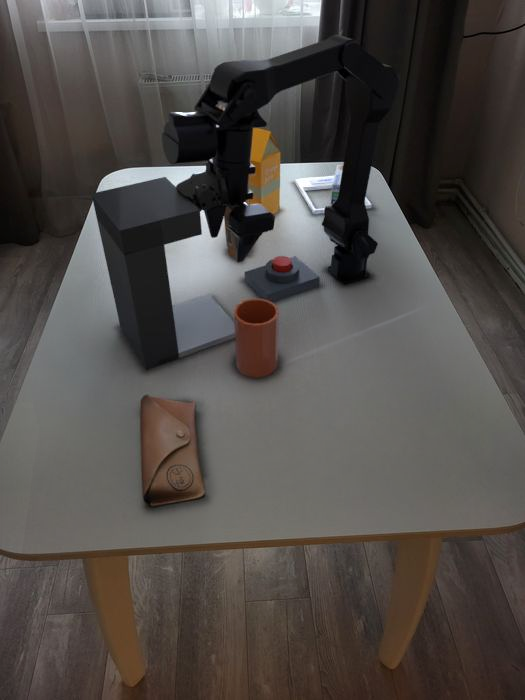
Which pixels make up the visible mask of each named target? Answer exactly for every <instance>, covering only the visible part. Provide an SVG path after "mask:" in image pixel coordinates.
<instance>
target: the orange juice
mask: <svg viewBox="0 0 525 700" xmlns="http://www.w3.org/2000/svg"><path fill="white" fill-rule="evenodd" d="M250 164H252V165H253V166H255V167H256V168H255V173H254V174H249V187H248V189H249V190H250V191H252V192H253V199H250V204H251V205H253V204H261V205H262V206H263V207H265V208H266V209H267V210H269V211H270V212H271V213H272V214H273V215H275V214H276V213H278V212H279V211H280V201H281V197H280V196H281V195H280V194H281V193H280V192H281V151H280V148H279V146H278V144H277V142H276V140H275V138H274V136H273V134H272V131H270V130H266V129H263V128H260V127H257V128H253V137H252V149H251V162H250Z"/></svg>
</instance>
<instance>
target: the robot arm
mask: <svg viewBox="0 0 525 700" xmlns="http://www.w3.org/2000/svg"><path fill="white" fill-rule="evenodd" d="M335 72H336V74H338V76H340V78H342V79H343V80H344V81H345V102H346V106H347V110H348V113H349V117H350V120H349V126H348V127H349V128H348V132H347V133H348V134H347V140H346V145H345V150H344V159H343V164H342V165H343V170H342V176H341V182H340V189H339V195H338V198H337V200H336V201H335V202H334V203H333V204H332V205H331V204H330V205H326V206H325V207H324V208H325V209H324V213H323V214H324V216H323V219H322V222H321V226H322V227H323V231H324V233H325V234H326V236H327V237H328V238H329V242H332V243H334V246H333V247H334V248H333V254H332V255H331V263H330V266H328V267H327V271H328V272H330V273H331V274H332V275H333V276H334V277H335V278H336V279H337V280H338V281H339V282H341V284H343V285H349V284H351V283H354V282H358V281H361V280H364V279H368V278H370V277H371V273H370V272H369V271H368V270H367V264H368V259H369V257H370V255H373V254H375V253H376V250H377V247H378V245H379V243H378V242H377V241H376V240H375V239H374V238H373V237H372V236H370V235H369V231H370V229H369V228H370V217H369V213H368V210H367V209H366V206H365V197H366V195H367V190H368V185H369V181H370V177H371V171H372V165H373V160H374V155H375V149H376V144H377V139H378V136H379V135H378V134H379V129H380V124H381V122H382V120H383V119H384V118H385V117H386V116H387V114H388V113H389V112H390V110H392V108H393V106H394V102H395V98H396V96H397V92H398V89H399V86H400V75H399V74H398V72H397V70H396V69H395V68H394V67H392V66H391V65H387V64H384V63H382V62H380V61H379V60H378V59H377V58H375V57H374V56H373V55H371V54H370V53H368V52H367V51H366V50H365V49H364V48H363V47H362V46H361V45H360V44H359V43H358V42H357V41H356V39H355V40H354V39H352V38H349V37H346V36H344V35H340V34H333V35H331V36H329V37H328V38H326V39H324V40H321V41H318V42H315V43H312V44H309V45H306V46H304V47H300V48H298V49H295V50H291V51H289V52H286V53H282V54H279V55H277V56H274V57H270V58H268V59H260V60H258V59H257V60H256V59H255V60H254V59H241V60H239V59H238V60H231V61H224V62H221V63H220V64H218V65H216V67H215V68H214V69H213V73H212V75H211V77H210V82H209V83H208V85H207V87H206V88H205V90H204V91H203V93H202V94H201V95H200V97H199V99H198V101H197V102H196V104H195V105H194V107H193V110H194V112H193V111H192V112H191V111H190V112H181V111H180V112H179V111H170V112H169V113H168V115H167V117H168V120H167V121H166V123H165V124H164V127H163V132H161V144H162V149H163V153H164V155H165V158H166V160H167V161H168V163H169V164H170V165H180V164H181V165H182V164H191V163H200V162H206V163H205V171H202V172H195V173H191V174H192V175H191V176H190V177H189V178H186V179H184V180H183V181H180V182H179V183H177V184H176V189H177V191H178V192H179V193H181V194H182V195H183V196H184V197H185V198H187V199H189V200H190V201H191V202H192V203H193V204H194V205H195V206H196V207H197V208H198V209H200V213H201V212H202V211H203V212H204V216H205V219H206V223H207V227H208V231H209V235H210V237H211V238H212V239H214V238H217V237H219V233H220V231H221V227H222V224H223V222H224V214H225V211H226V208H227V206H228V207H229V208H230V209H231V210H232V211H231V212H230V213H229V223H230V226H228V228H229V229H230V230H231V231H232V232H233V233H234V234H235V248H236V259H235V260H236V262H237V263H241V262H244V261H245V259H246V257H247V256H248V255H249V254H248V253H250V252H251V250H252V248H253V247H254V245H255V244H256V242H258V240H259V239H260V237H261V236H262V235H263V234H264V233H268V232H269V231H270V232H271V231H274V229H275V221H276V215H275V214H272V213H271V212H270V211H269V210H267V209H266V208H265V207H263V206H262V205H261V204H253V205H247V204H246V203H245V200H248V199H253V192H252V191H250V190H249V189H248V187H249V174H254V173H255V168H256V167H255V166H253V165H252V164H250V162H251V149H252V137H253V128H265V127H267V125H268V122H267V121H266V120H265V119H264V118H263V117H262V116H261V114H260V112H259V110H260V109H262V108H264V107H265V106H267V105H268V104H270V102H271V101H272V100H273V98H274V97H275V96H276V95H278V94H279V93H281V92H283V91H286V90H289V89H291V88H294V87H298V86H300V85H303V84H306V83H309V82H311V81H313V80H316V79H319V78H322V77H324V76H327V75H331V74H333V73H335ZM220 104H221V105H223V106H224V108H225V110H224V111H223V110H221V109H220V108H219V106H217V105H220ZM366 198H367V197H366ZM249 251H250V252H249ZM247 254H248V255H247Z"/></svg>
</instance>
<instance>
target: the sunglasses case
mask: <svg viewBox="0 0 525 700" xmlns="http://www.w3.org/2000/svg"><path fill="white" fill-rule="evenodd" d="M196 405H197V404H196V402H195V401H187V402H186V401H180V400H173V399H167V398H161V397H155V396H150V395H149V394H145V395H143V396H142V397H141V399H140V419H139V420H140V460H141V461H140V463H141V486H142V498H143V502H144V503H145V504H147V505H148V506H151V507H159V506H165V505H173V504H179V503H184V502H188V501H192V500H198V499H201V498H203V497H204V496H205V495H206V485H205V482H204V477H203V472H202V467H201V461H200V455H199V445H198V436H197V424H196V407H197V406H196Z"/></svg>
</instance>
